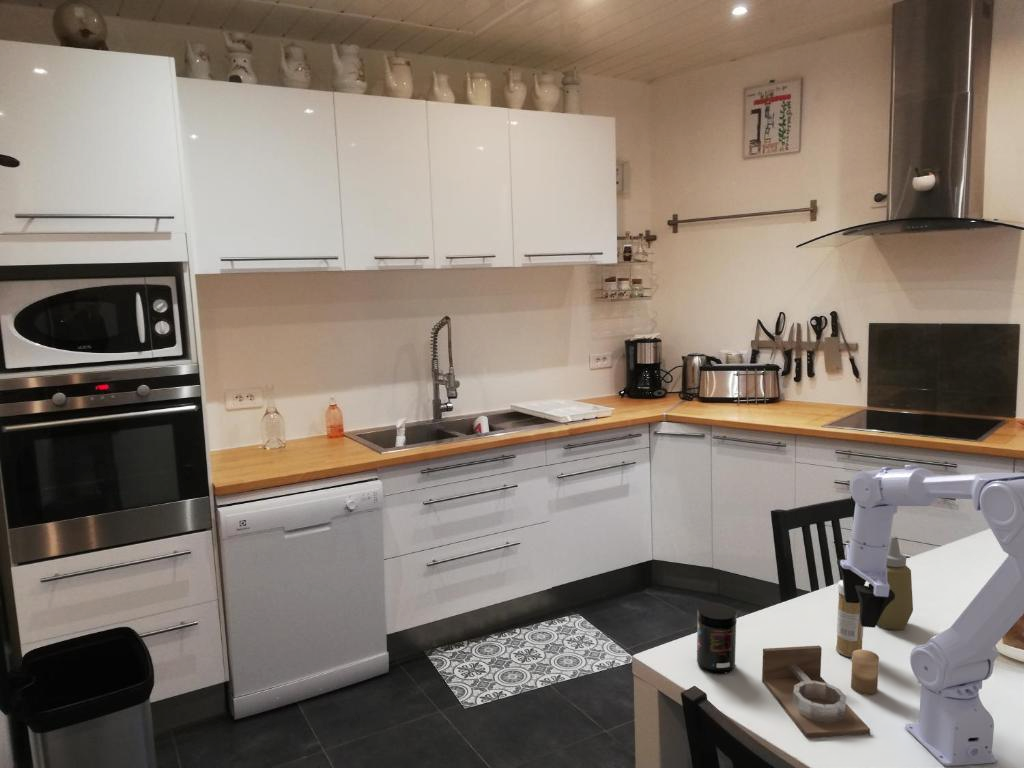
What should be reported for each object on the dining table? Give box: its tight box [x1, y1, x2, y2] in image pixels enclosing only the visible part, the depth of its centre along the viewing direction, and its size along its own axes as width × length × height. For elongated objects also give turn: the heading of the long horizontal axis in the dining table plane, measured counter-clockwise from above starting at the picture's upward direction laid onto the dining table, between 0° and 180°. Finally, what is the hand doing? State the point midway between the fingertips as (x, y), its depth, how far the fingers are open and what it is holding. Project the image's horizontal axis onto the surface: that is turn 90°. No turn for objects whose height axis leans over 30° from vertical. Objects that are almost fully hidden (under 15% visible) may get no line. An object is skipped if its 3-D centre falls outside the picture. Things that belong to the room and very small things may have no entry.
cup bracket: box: [761, 645, 871, 739], centre depth 118 cm, size 16×10×6 cm, turn 4°
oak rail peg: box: [850, 649, 880, 696], centre depth 123 cm, size 4×4×6 cm
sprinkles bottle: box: [835, 579, 866, 658], centre depth 134 cm, size 5×5×13 cm
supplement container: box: [696, 602, 738, 675], centre depth 131 cm, size 7×7×10 cm
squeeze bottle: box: [876, 536, 914, 631], centre depth 145 cm, size 8×8×18 cm
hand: (859, 613), depth 124 cm, fingers open, 7 cm apart
